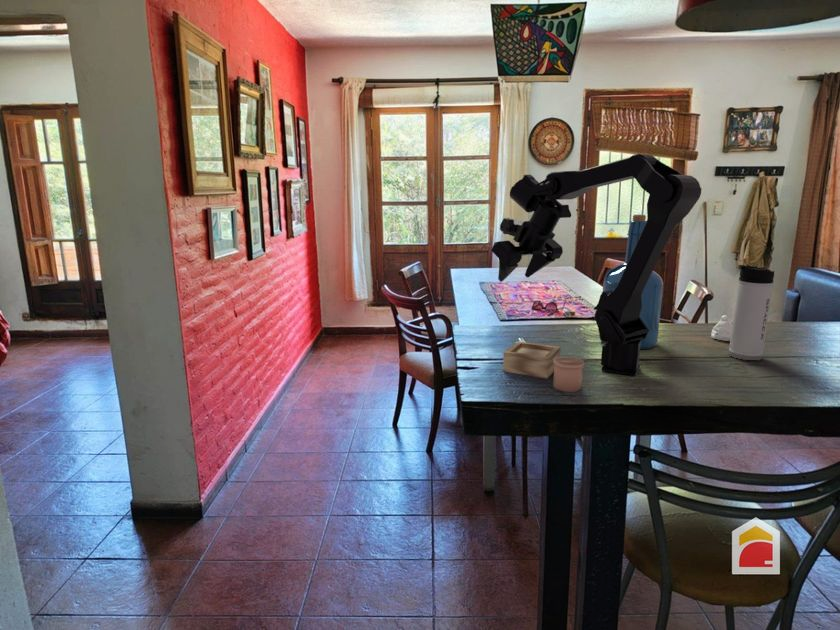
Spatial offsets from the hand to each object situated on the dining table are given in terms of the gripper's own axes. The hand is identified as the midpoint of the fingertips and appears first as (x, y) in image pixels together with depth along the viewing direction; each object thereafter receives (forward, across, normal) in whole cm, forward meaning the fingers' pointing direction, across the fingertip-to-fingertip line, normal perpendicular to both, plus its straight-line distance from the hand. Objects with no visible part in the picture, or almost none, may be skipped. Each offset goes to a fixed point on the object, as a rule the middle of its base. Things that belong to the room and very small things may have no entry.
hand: (513, 278), depth 129 cm
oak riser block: (+3, +14, +24) cm, 28 cm away
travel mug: (-9, -28, +44) cm, 53 cm away
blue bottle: (+2, -18, +25) cm, 31 cm away
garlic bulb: (-4, -39, +36) cm, 54 cm away
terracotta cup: (-3, +17, +33) cm, 38 cm away
